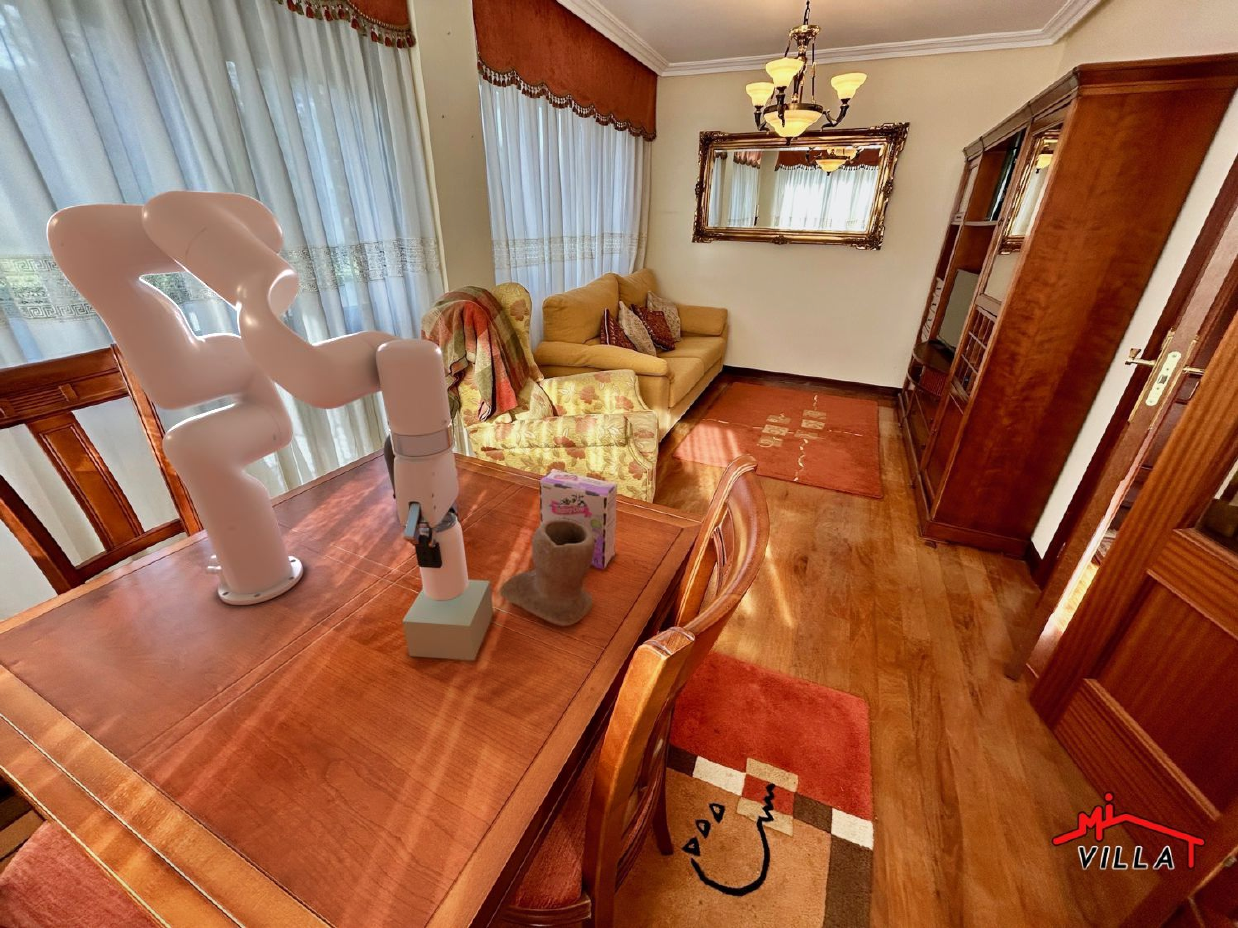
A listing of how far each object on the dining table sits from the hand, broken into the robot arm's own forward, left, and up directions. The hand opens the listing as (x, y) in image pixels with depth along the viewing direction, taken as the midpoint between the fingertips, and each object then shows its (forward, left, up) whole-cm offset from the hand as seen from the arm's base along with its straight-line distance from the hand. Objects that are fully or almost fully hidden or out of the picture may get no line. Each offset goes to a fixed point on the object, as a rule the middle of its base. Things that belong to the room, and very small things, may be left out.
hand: (440, 549), depth 73 cm
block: (0, 0, -16) cm, 16 cm away
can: (0, 0, -7) cm, 7 cm away
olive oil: (-20, +35, -17) cm, 44 cm away
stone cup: (+14, +9, -17) cm, 24 cm away
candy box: (+17, +23, -17) cm, 33 cm away
